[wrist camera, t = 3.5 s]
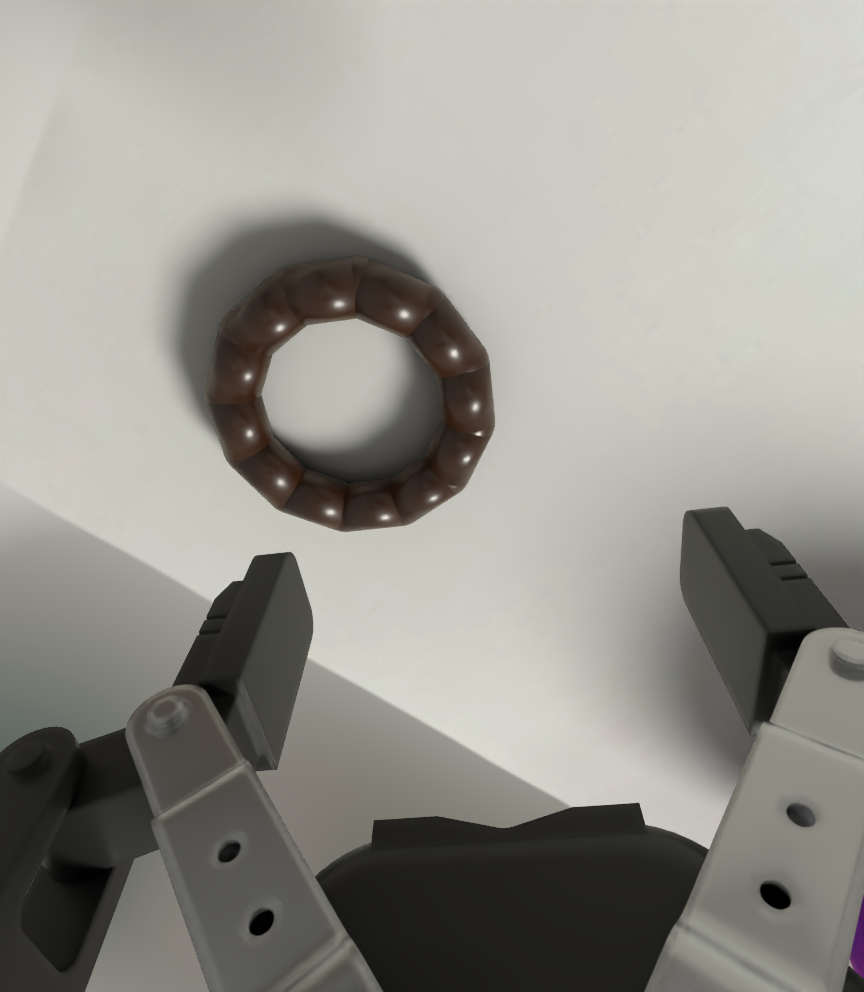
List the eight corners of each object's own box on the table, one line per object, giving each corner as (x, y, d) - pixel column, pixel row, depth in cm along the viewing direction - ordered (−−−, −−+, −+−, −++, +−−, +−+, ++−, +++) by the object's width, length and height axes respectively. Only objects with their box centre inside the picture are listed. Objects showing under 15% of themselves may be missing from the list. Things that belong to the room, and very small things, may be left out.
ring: (260, 525, 25) (248, 551, 24) (179, 277, 20) (157, 290, 19) (502, 498, 24) (506, 524, 23) (476, 233, 20) (478, 243, 18)
